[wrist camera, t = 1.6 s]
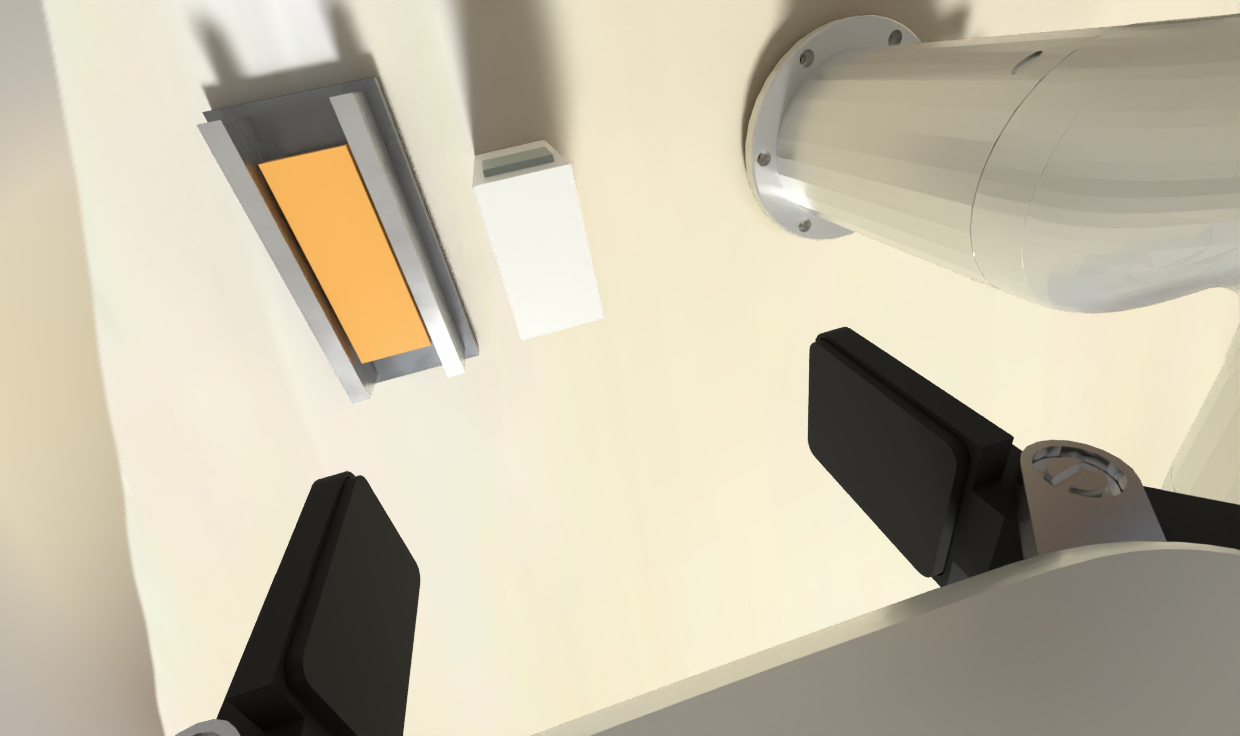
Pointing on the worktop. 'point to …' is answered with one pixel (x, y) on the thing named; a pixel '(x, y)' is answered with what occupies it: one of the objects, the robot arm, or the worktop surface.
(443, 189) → the worktop surface
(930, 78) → the robot arm
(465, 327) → the rail
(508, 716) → the worktop surface
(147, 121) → the worktop surface
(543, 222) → the block
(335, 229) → the orange rectangular panel
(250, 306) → the worktop surface
